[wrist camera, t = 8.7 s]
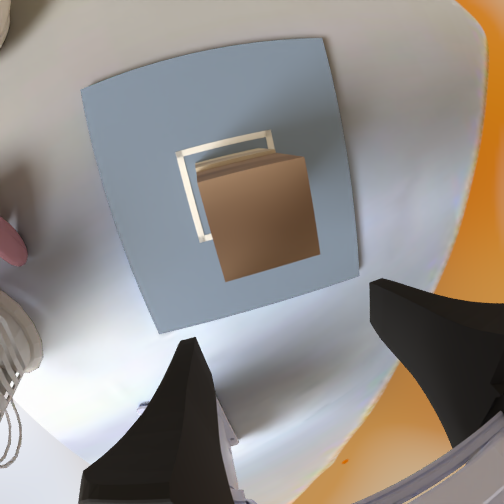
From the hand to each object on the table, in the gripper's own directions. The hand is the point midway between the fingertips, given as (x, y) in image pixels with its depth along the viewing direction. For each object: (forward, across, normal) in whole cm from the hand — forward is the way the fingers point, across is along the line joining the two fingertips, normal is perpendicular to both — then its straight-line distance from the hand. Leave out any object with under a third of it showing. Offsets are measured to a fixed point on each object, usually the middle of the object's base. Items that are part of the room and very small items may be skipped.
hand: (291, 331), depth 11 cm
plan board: (+10, 0, -4) cm, 11 cm away
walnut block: (+6, 0, -4) cm, 7 cm away
